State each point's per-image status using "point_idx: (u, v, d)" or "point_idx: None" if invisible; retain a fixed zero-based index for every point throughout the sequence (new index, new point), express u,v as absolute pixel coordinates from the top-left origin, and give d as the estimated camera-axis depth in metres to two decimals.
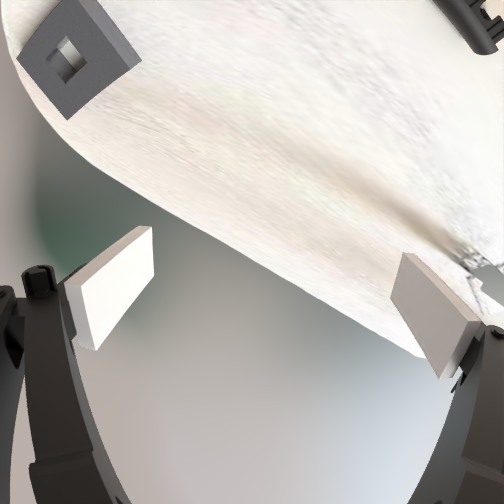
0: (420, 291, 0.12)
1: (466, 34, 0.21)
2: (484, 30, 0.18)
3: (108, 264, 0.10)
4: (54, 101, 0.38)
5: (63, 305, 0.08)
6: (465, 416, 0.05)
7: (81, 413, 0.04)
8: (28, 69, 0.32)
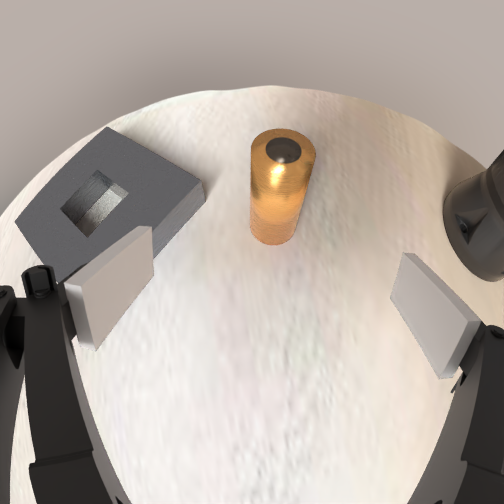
0: (420, 291, 0.12)
1: None
2: None
3: (108, 264, 0.10)
4: (39, 196, 0.30)
5: (63, 305, 0.08)
6: (465, 416, 0.05)
7: (81, 413, 0.04)
8: (87, 147, 0.33)
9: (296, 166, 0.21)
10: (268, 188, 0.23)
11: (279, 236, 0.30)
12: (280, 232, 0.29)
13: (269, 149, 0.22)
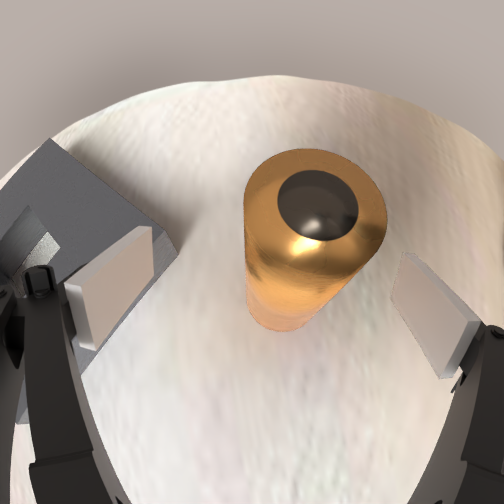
0: (420, 291, 0.12)
1: None
2: None
3: (108, 264, 0.10)
4: None
5: (63, 305, 0.08)
6: (465, 417, 0.05)
7: (81, 413, 0.04)
8: (23, 169, 0.21)
9: (349, 249, 0.09)
10: (281, 286, 0.11)
11: (293, 326, 0.18)
12: (295, 324, 0.17)
13: (286, 202, 0.10)
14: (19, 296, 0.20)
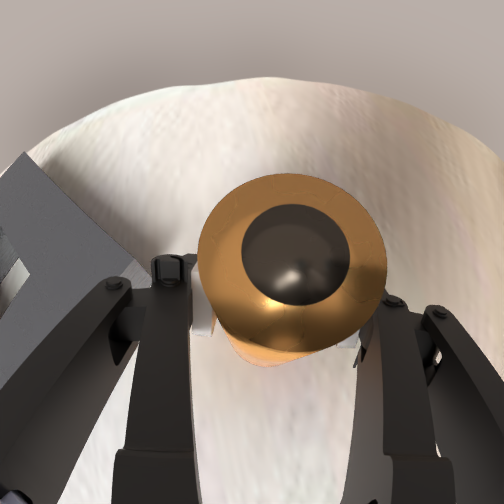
0: None
1: None
2: None
3: None
4: None
5: (189, 293, 0.10)
6: (375, 400, 0.06)
7: (190, 411, 0.05)
8: None
9: (335, 315, 0.07)
10: (251, 349, 0.08)
11: None
12: (279, 364, 0.15)
13: (253, 252, 0.07)
14: None
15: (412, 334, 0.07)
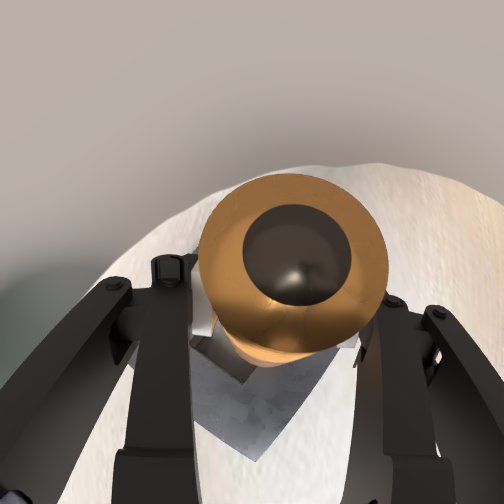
0: None
1: None
2: None
3: None
4: None
5: (189, 293, 0.10)
6: (375, 400, 0.06)
7: (190, 411, 0.05)
8: None
9: (336, 315, 0.07)
10: (252, 350, 0.08)
11: (278, 365, 0.16)
12: (280, 364, 0.15)
13: (254, 252, 0.07)
14: (215, 363, 0.30)
15: (412, 334, 0.07)
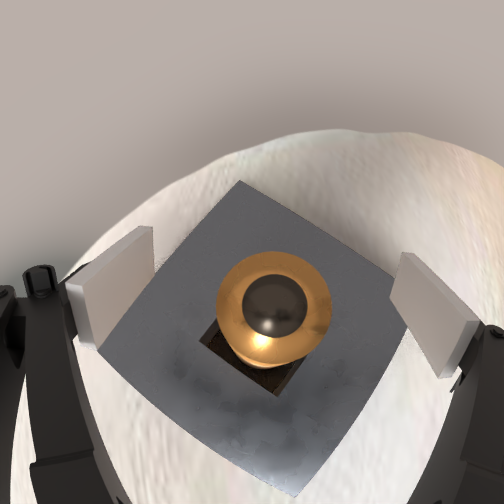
0: (419, 291, 0.12)
1: None
2: None
3: (109, 264, 0.10)
4: (139, 307, 0.20)
5: (64, 305, 0.08)
6: (464, 416, 0.05)
7: (82, 413, 0.04)
8: (216, 217, 0.23)
9: (296, 343, 0.12)
10: (248, 360, 0.13)
11: None
12: None
13: (248, 305, 0.12)
14: (234, 367, 0.22)
15: None
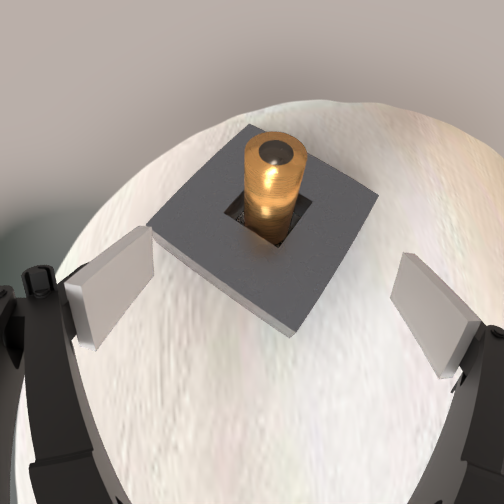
0: (420, 291, 0.12)
1: None
2: None
3: (108, 264, 0.10)
4: (181, 195, 0.30)
5: (63, 305, 0.08)
6: (465, 417, 0.05)
7: (81, 413, 0.04)
8: (234, 144, 0.33)
9: (288, 168, 0.22)
10: (261, 189, 0.23)
11: (273, 237, 0.31)
12: (273, 233, 0.30)
13: (262, 152, 0.23)
14: None
15: None
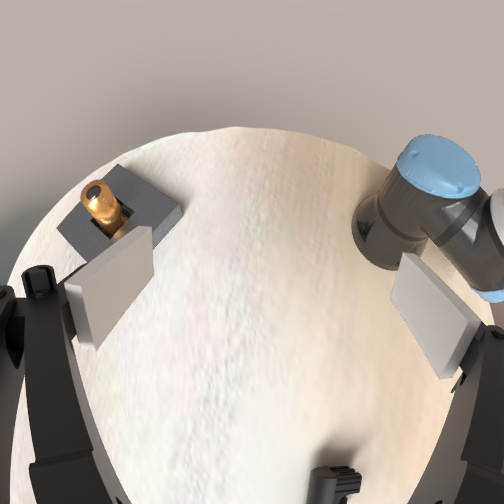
0: (420, 291, 0.12)
1: None
2: None
3: (108, 264, 0.10)
4: (73, 211, 0.49)
5: (63, 305, 0.08)
6: (465, 417, 0.05)
7: (81, 413, 0.04)
8: (105, 178, 0.52)
9: (95, 200, 0.41)
10: (90, 211, 0.42)
11: None
12: (113, 232, 0.49)
13: (88, 193, 0.41)
14: None
15: None
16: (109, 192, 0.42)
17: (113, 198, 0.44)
